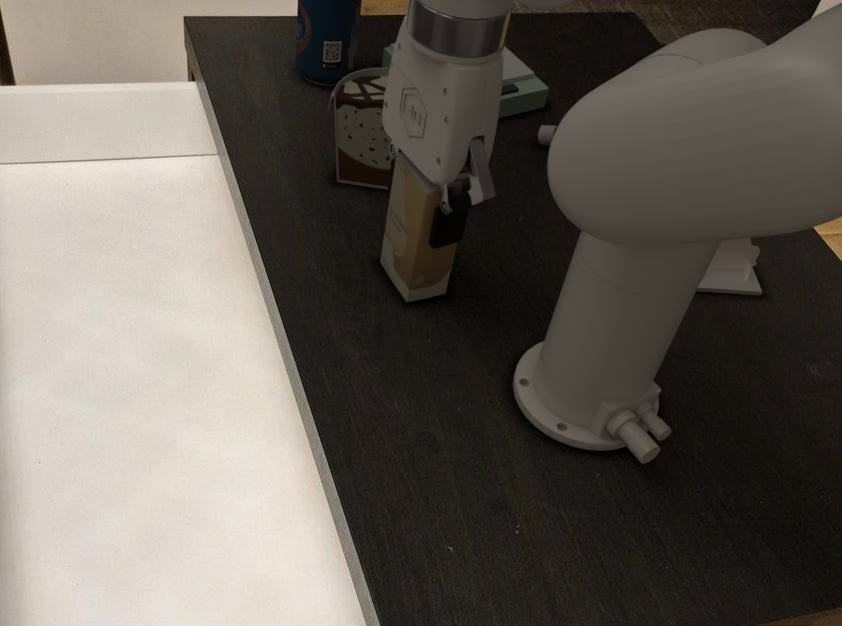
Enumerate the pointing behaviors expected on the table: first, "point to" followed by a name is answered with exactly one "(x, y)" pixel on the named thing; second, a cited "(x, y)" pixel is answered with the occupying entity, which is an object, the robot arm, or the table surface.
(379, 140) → the food container
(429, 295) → the cosmetic box
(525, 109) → the scale
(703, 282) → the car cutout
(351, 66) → the soda can
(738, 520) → the table surface
